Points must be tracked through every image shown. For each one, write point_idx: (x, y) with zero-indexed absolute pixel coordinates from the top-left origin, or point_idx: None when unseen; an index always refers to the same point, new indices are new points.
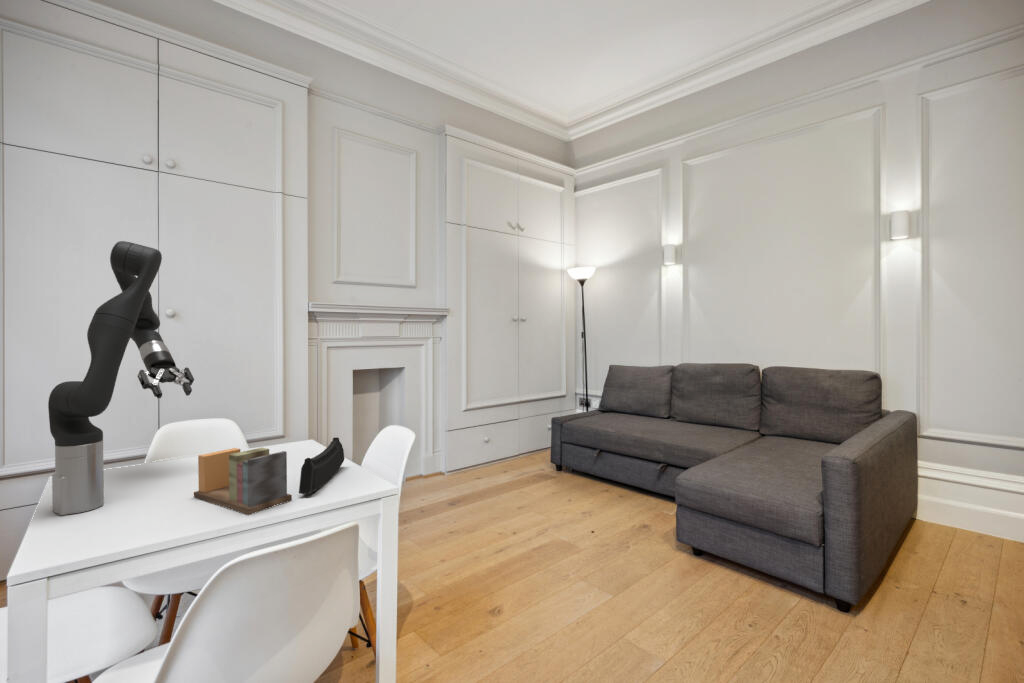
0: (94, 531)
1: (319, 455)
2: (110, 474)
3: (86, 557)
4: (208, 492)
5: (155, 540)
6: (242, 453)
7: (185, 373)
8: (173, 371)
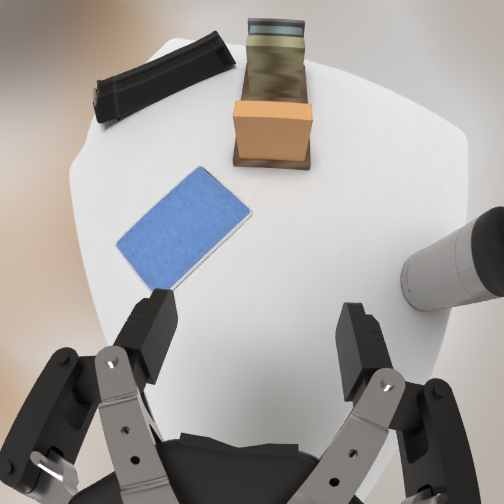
0: (427, 164)
1: (176, 51)
2: None
3: (433, 114)
4: None
5: (389, 93)
6: (288, 41)
7: (49, 452)
8: (154, 487)
